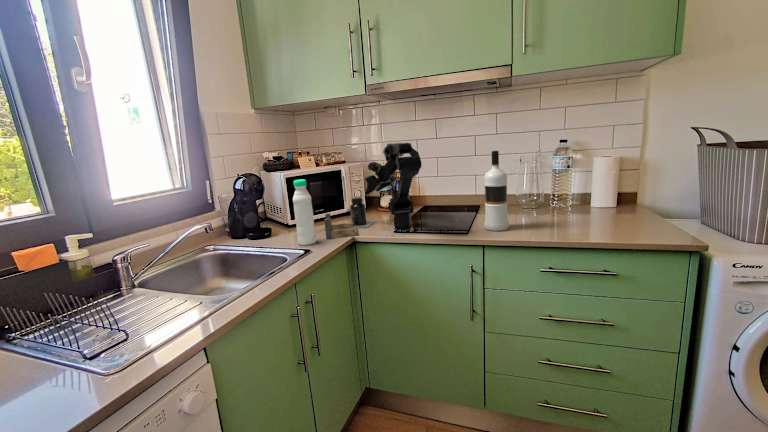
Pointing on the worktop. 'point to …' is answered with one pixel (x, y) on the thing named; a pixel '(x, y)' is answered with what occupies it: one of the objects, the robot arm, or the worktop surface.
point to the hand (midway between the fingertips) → (371, 192)
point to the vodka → (496, 197)
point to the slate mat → (368, 224)
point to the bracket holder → (338, 229)
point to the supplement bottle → (358, 212)
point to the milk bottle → (303, 214)
